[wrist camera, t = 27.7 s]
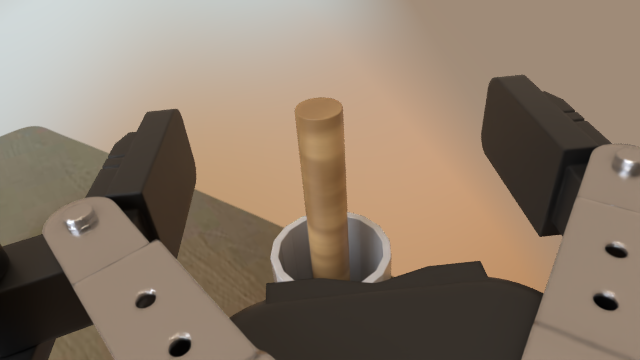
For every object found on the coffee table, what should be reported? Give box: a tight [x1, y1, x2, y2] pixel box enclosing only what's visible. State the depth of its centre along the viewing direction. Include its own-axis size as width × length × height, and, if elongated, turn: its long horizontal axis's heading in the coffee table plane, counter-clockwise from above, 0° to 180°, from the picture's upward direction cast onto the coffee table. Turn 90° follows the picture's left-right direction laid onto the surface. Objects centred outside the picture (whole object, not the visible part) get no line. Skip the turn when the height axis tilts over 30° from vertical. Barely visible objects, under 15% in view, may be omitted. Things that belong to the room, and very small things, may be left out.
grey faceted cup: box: [270, 212, 391, 283], centre depth 32 cm, size 7×7×11 cm
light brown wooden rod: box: [295, 98, 350, 281], centre depth 29 cm, size 3×3×20 cm
